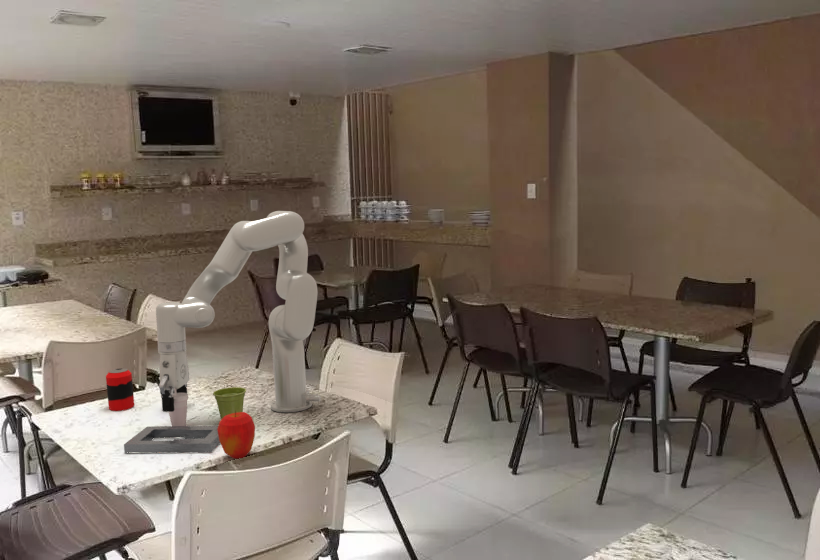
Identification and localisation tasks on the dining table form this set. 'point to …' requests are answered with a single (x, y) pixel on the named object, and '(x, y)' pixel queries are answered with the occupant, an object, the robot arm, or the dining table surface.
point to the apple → (236, 434)
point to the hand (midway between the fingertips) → (175, 406)
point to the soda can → (120, 389)
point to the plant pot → (229, 400)
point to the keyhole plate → (194, 440)
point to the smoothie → (179, 409)
